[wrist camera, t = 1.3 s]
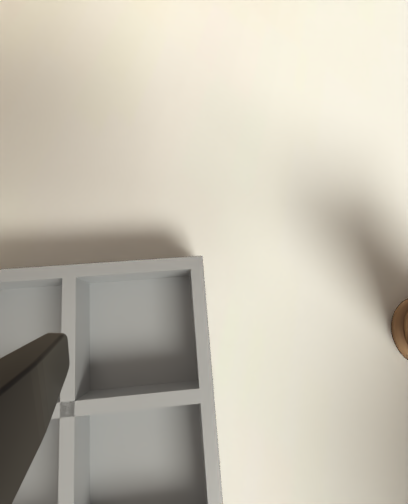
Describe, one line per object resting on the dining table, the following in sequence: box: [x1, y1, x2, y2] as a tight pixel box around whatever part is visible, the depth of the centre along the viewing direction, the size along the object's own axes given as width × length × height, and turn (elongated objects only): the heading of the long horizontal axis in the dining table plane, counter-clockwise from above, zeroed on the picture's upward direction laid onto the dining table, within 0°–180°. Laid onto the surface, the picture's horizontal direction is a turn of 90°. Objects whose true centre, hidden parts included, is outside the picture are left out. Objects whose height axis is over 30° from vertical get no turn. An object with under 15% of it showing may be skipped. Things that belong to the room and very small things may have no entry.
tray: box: [0, 256, 223, 504], centre depth 18 cm, size 24×16×4 cm
